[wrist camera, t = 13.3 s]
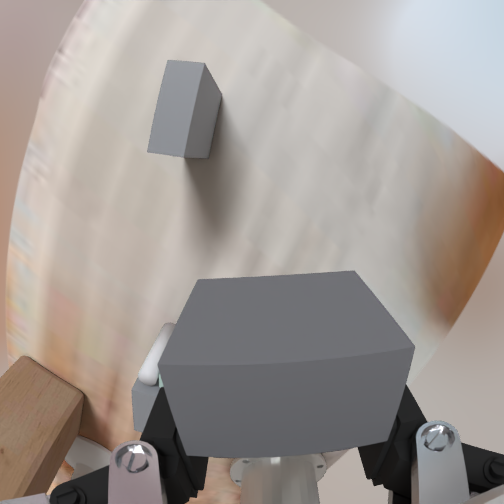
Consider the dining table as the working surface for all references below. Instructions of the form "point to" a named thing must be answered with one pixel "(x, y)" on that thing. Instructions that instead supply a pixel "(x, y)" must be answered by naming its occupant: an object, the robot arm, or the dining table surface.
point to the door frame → (179, 153)
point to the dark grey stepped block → (284, 366)
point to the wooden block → (34, 427)
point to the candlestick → (86, 456)
